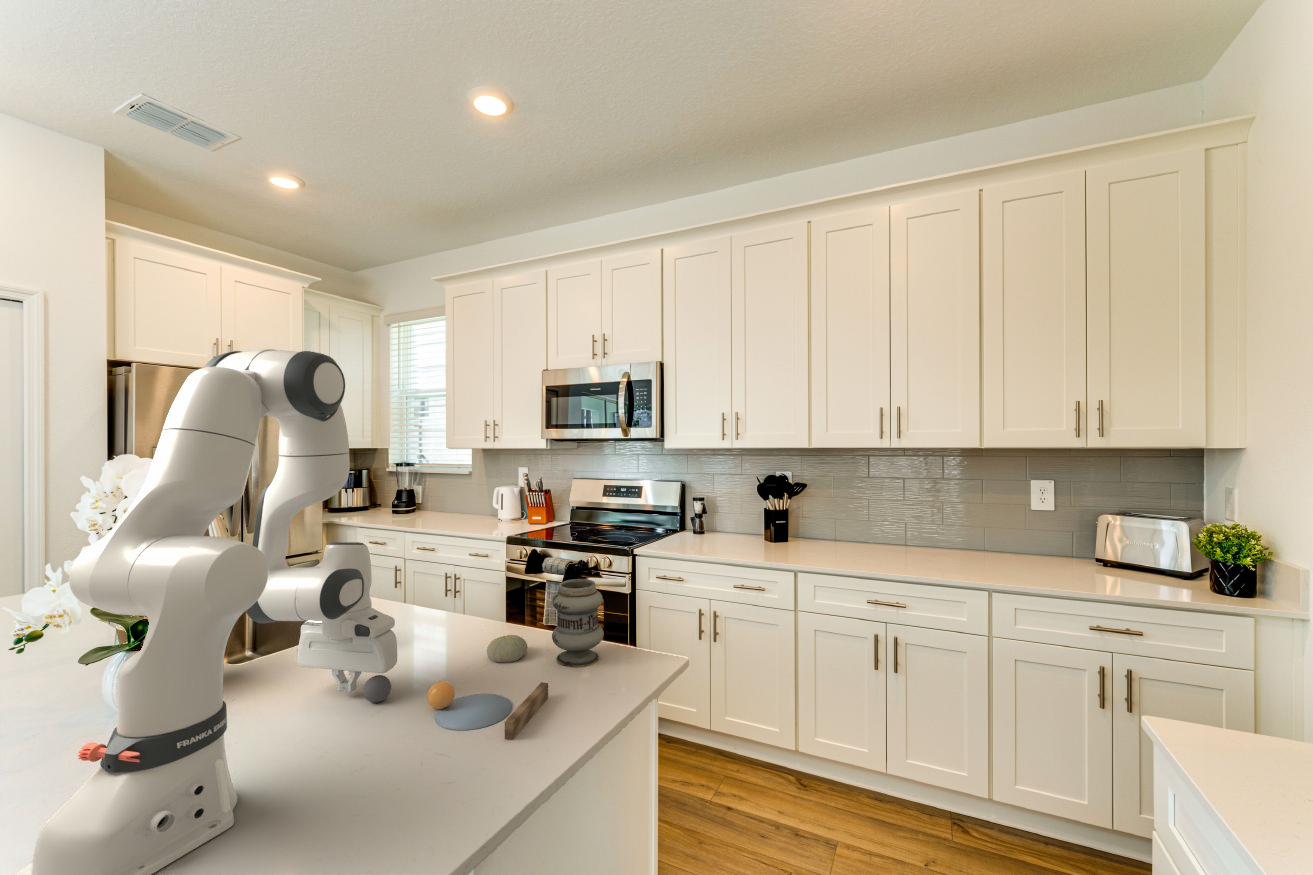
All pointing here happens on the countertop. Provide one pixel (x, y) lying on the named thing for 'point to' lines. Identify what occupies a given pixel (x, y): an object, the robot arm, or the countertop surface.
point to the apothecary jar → (577, 622)
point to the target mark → (474, 712)
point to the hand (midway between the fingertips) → (347, 690)
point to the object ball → (441, 695)
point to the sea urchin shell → (507, 648)
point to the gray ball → (377, 688)
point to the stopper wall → (526, 711)
